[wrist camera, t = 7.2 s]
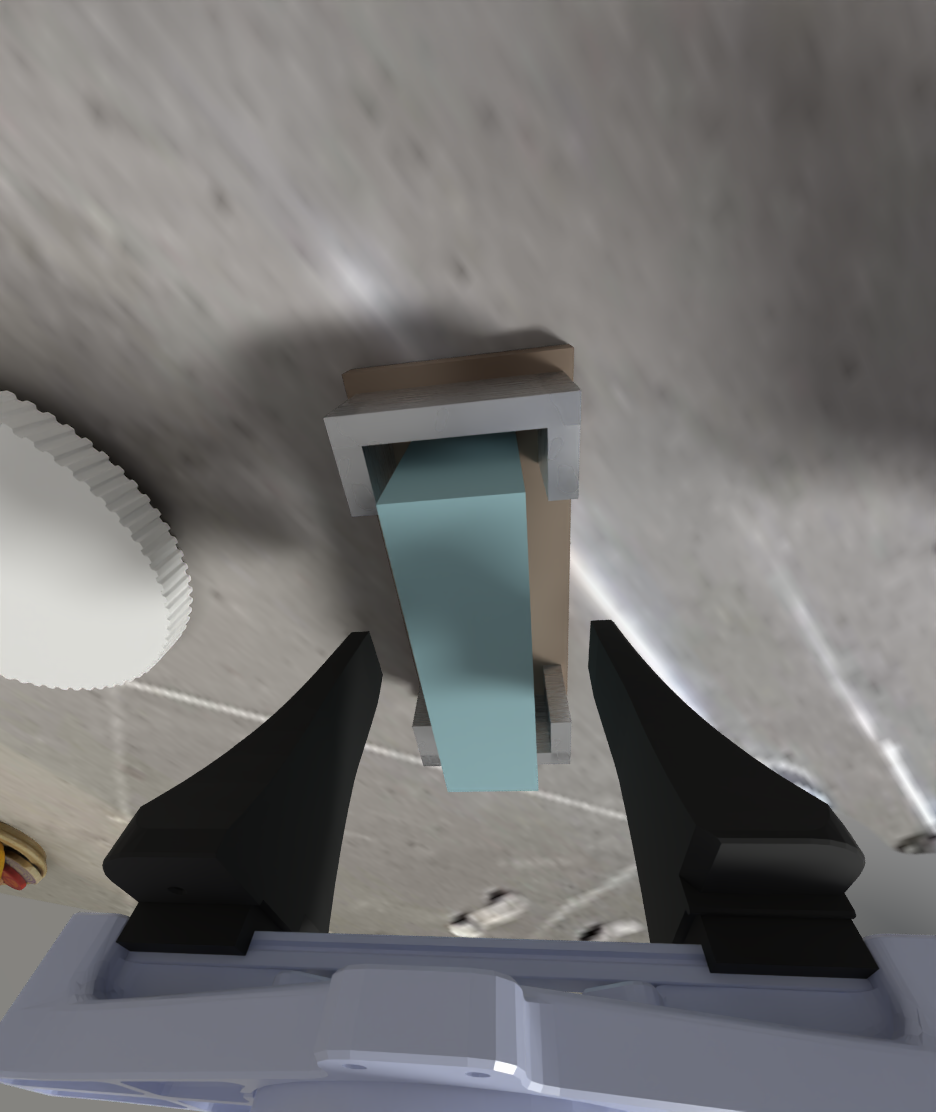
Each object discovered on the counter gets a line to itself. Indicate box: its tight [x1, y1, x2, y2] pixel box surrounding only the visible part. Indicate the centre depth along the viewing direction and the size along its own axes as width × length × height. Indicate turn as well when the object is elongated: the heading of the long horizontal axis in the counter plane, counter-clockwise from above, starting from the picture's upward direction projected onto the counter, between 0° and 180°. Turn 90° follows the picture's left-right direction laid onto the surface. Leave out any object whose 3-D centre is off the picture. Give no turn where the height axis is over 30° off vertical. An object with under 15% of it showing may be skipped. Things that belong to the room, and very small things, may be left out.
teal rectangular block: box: [376, 431, 538, 792], centre depth 15 cm, size 3×12×5 cm, turn 6°
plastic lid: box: [0, 390, 193, 690], centre depth 17 cm, size 14×14×2 cm
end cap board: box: [342, 344, 574, 695], centre depth 17 cm, size 7×16×1 cm, turn 7°
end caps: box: [323, 371, 581, 766], centre depth 15 cm, size 6×15×3 cm, turn 6°
